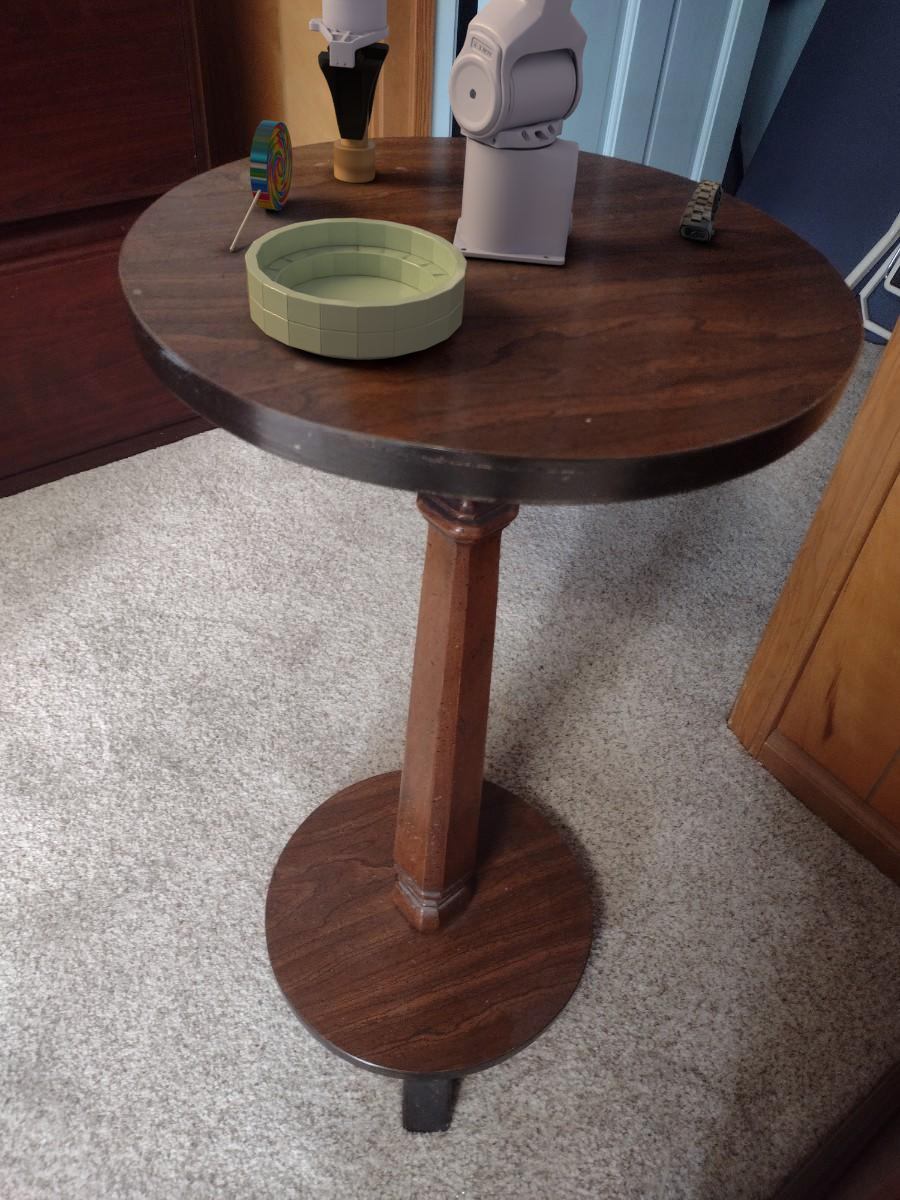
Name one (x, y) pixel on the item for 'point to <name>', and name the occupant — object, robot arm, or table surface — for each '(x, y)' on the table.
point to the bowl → (355, 287)
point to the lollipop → (269, 168)
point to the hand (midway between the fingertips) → (354, 133)
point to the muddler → (354, 159)
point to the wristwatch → (701, 212)
